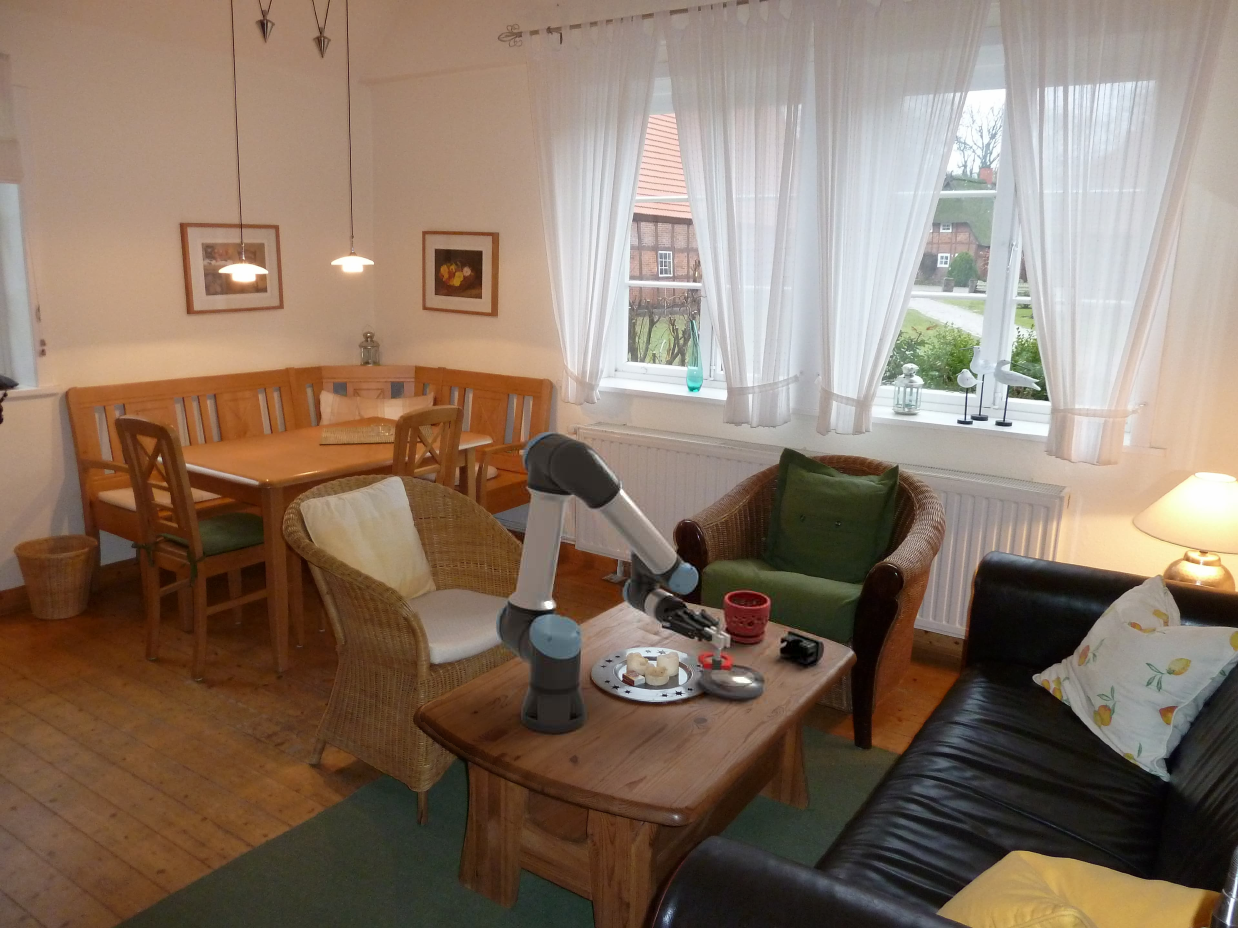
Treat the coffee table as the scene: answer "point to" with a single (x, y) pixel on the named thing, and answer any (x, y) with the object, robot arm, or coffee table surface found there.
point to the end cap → (801, 649)
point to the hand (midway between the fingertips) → (725, 642)
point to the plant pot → (746, 616)
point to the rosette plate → (733, 683)
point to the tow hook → (716, 656)
